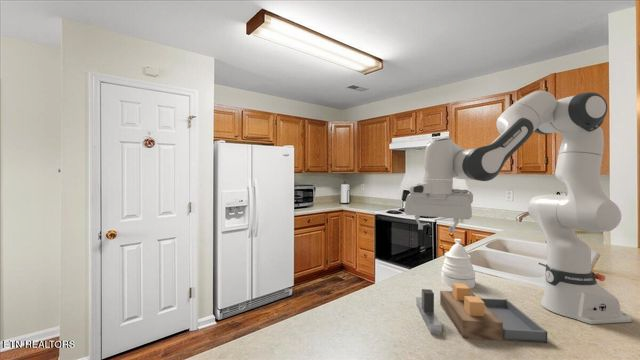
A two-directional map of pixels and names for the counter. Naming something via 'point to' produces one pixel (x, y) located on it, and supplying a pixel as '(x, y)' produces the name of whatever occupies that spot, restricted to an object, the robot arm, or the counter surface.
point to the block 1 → (460, 291)
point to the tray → (515, 322)
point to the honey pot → (458, 266)
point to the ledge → (471, 319)
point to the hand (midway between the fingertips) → (435, 230)
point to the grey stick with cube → (428, 311)
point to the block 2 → (474, 306)
